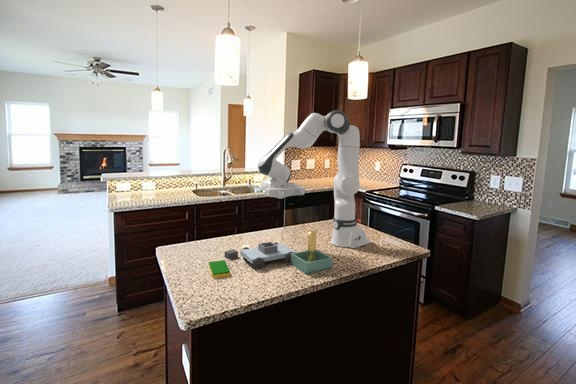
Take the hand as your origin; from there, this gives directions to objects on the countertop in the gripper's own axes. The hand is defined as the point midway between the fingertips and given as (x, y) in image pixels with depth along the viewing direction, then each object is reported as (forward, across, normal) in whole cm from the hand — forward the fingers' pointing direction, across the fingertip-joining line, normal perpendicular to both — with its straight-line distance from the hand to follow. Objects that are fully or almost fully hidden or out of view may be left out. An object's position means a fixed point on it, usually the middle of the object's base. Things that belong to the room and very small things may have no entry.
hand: (293, 193), depth 154 cm
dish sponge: (+2, -37, +32) cm, 49 cm away
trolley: (0, -13, +31) cm, 33 cm away
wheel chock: (-12, -27, +31) cm, 43 cm away
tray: (+16, +1, +31) cm, 35 cm away
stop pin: (+16, +1, +30) cm, 34 cm away
